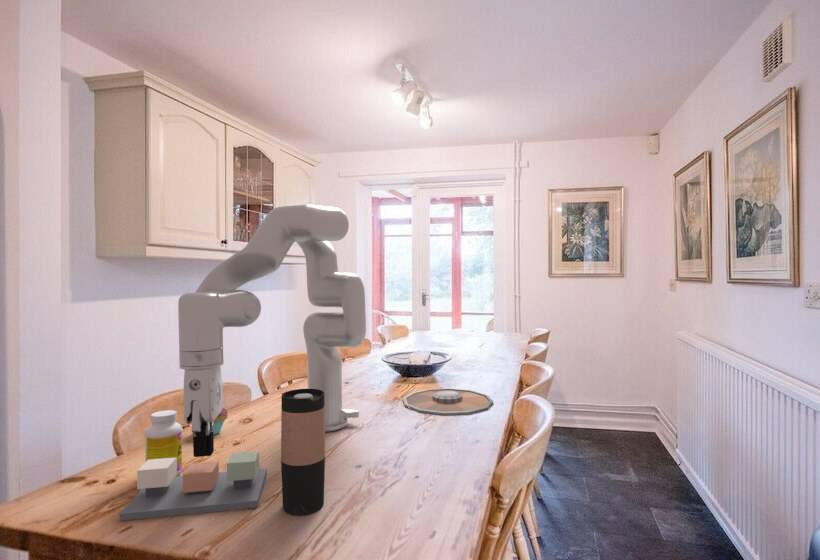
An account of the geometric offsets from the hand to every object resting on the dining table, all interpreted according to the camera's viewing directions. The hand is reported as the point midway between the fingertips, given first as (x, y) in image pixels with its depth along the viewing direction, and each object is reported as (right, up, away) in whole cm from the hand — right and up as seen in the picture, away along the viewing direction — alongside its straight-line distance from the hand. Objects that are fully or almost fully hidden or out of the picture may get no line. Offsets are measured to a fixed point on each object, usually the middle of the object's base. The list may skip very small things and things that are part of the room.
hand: (203, 454), depth 84 cm
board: (0, -7, -1) cm, 7 cm away
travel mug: (+20, -7, -5) cm, 22 cm away
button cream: (-8, -4, -2) cm, 9 cm away
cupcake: (-14, -8, +34) cm, 38 cm away
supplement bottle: (-12, -8, +8) cm, 17 cm away
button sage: (+7, -4, +1) cm, 8 cm away
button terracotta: (0, -6, -1) cm, 6 cm away
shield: (+51, -8, +64) cm, 82 cm away
